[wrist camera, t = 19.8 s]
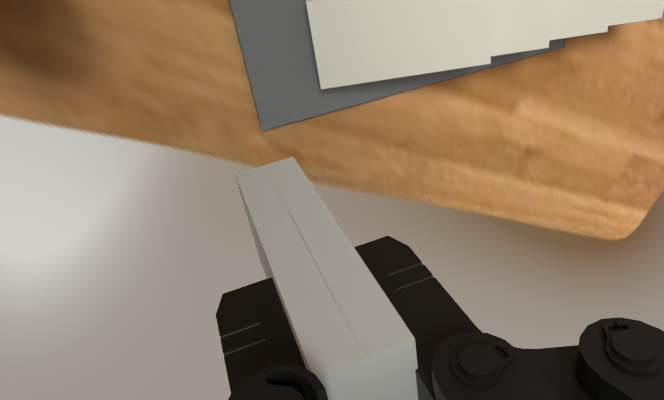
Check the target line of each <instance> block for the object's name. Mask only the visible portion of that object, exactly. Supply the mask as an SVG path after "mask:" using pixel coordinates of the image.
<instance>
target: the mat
mask: <svg viewBox="0 0 664 400" xmlns="http://www.w3.org/2000/svg"><path fill="white" fill-rule="evenodd" d="M229 3H230V7H231V11H232V15H233V19H234V23H235V27H236V31H237V35H238V39H239V43H240V47H241V51H242V55H243V59H244V63H245V67H246V71H247V75H248V79H249V83H250V87H251V91H252V95H253V99H254V103H255V107H256V111H257V115H258V119H259V123H260V127H261V129H262V131H264V130H267V129H271V128H275V127H278V126H282V125H285V124H289V123H292V122H296V121H300V120H303V119H307V118H310V117H314V116H317V115H321V114H325V113H328V112H332V111H335V110H339V109H343V108H346V107H350V106H353V105H357V104H360V103H364V102H368V101H371V100H375V99H378V98H382V97H385V96H389V95H393V94H396V93H400V92H403V91H407V90H411V89H414V88H418V87H421V86H425V85H428V84H432V83H436V82H439V81H443V80H446V79H450V78H454V77H457V76H461V75H464V74H468V73H471V72H475V71H479V70H482V69H486V68H489V67H493V66H496V65H500V64H504V63H507V62H511V61H514V60H518V59H522V58H525V57H529V56H532V55H536V54H539V53H543V52H547V51H550V50H554V49H557V48H561V47H564V45H565V38H562V39H555V40H549V48H543V49H537V50H530V51H523V52H517V53H510V54H504V55H497V56H491V64H485V65H478V66H472V67H465V68H459V69H452V70H446V71H439V72H432V73H426V74H419V75H413V76H406V77H399V78H393V79H386V80H380V81H373V82H367V83H360V84H353V85H347V86H340V87H334V88H327V89H321V86H320V81H319V75H318V69H317V63H316V57H315V52H314V46H313V40H312V34H311V29H310V23H309V17H308V11H307V5H306V0H229Z"/></svg>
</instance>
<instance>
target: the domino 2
mask: <svg viewBox="0 0 664 400" xmlns="http://www.w3.org/2000/svg"><path fill="white" fill-rule="evenodd" d="M551 12H552V0H491V56H497V55H504V54H510V53H517V52H523V51H530V50H537V49H543V48H549V38H550V25H551Z"/></svg>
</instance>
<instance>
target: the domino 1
mask: <svg viewBox="0 0 664 400" xmlns="http://www.w3.org/2000/svg"><path fill="white" fill-rule="evenodd" d="M306 5H307V11H308V17H309V23H310V29H311V34H312V40H313V46H314V52H315V57H316V63H317V69H318V75H319V81H320V86H321V89H327V88H334V87H340V86H347V85H353V84H360V83H367V82H373V81H380V80H386V79H393V78H399V77H406V76H413V75H419V74H426V73H432V72H439V71H446V70H452V69H459V68H465V67H472V66H478V65H485V64H491V0H306Z"/></svg>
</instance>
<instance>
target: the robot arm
mask: <svg viewBox="0 0 664 400" xmlns="http://www.w3.org/2000/svg"><path fill="white" fill-rule="evenodd" d="M235 176H236V179H237V183H238V186H239V189H240V193H241V196H242V199H243V203H244V206H245V210H246V213H247V216H248V220H249V223H250V226H251V230H252V233H253V236H254V240H255V243H256V247H257V250H258V253H259V256H260V260H261V263H262V265H263V268H264V271H265V274H266V277H267V279H265V280H262V281H259V282H256V283H253V284H251V285H248V286H245V287H242V288H239V289H236V290H233V291H230V292H227V293H224V294H223V295H222V298H221V301H220V304H219V308H218V310H217V313H216V318H217V323H218V328H219V333H220V337H221V344H222V349H223V353H224V359H225V364H226V369H227V374H228V380H229V385H230V390H231V395H230V397H229V399H228V400H664V331H662V330H660V329H658V328H655V327H653V326H650V325H648V324H646V323H643V322H641V321H637V320H631V319H625V318H611V319H610V318H609V319H601V320H599V321H597V322H595V323H593V324H590V325H588V326H587V327H586V329H585V330H584V332H583V333H582V334H581V336H580V340H579V345H578V346H566V347H556V348H544V349H521V348H516V347H513V346H511V345H510V344H509V343H508V342H507V341H505V340H503V339H501V338H498V337H496V336H493V335H491V334H488V333H482V332H481V331H480V330H479V329H478V328H477V327H476V326H475V325H474V323H473V322H472V321H471V320H470V319H469V317H468V316H467V315H466V314H465V313H464V312H463V310H461V308H460V307H459V306H458V304H457V303H456V302H455V301H454V300H453V298H452V297H451V296H450V295H449V294H448V293H447V291H446V290H445V289H444V288H443V287H442V285H441V284H440V283H439V282H438V281H437V279H436V278H433V276H432V274H431V272H430V271H429V270H428V269H427V268H426V266H424V265H422V263H421V261H420V259H419V258H418V257H417V256H416V255H415V254H414V252H413V251H412V250H411V249H410V247H409V246H407V245H405V244H403V243H401V242H399V241H397V240H395V239H393V238H391V237H390V236H386V237H383V238H380V239H377V240H375V241H371V242H368V243H366V244H363V245H360V246H357V247H353V245H352V244H351V242H350V241H349V239H348V238H347V236H346V235H345V233H344V232H343V230H342V229H341V227H340V226H339V224H338V223H337V221H336V220H335V219H334V217H333V215H332V214H331V212H330V211H329V209H328V208H327V206H326V205H325V203H324V202H323V200H322V199H321V197H320V196H319V194H318V193H317V191H316V190H315V188H314V187H313V185H312V184H311V182H310V181H309V179H308V178H307V176H306V175H305V173H304V172H303V170H302V169H301V167H300V166H299V164H298V163H297V161H296V160H295V158H294V157H290V158H287V159H283V160H280V161H276V162H273V163H270V164H266V165H263V166H259V167H256V168H253V169H249V170H246V171H242V172H239V173H236V174H235Z"/></svg>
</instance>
